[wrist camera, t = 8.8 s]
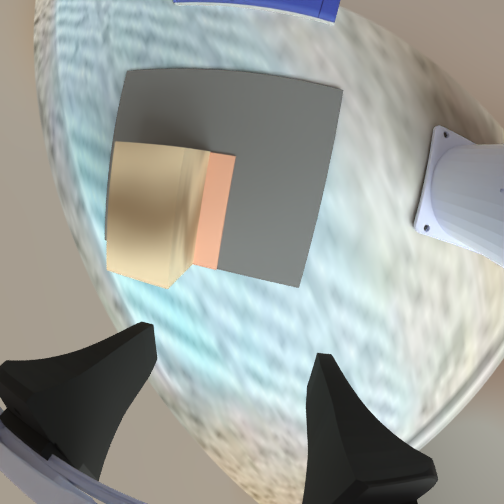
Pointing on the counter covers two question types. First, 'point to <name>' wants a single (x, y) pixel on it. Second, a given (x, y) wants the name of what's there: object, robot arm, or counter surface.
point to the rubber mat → (244, 154)
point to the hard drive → (280, 7)
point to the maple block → (154, 210)
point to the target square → (213, 209)
